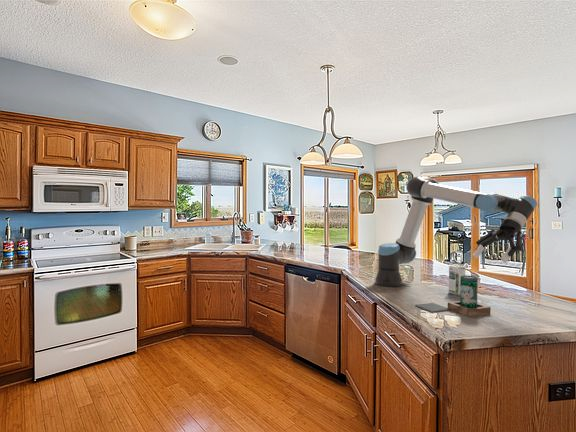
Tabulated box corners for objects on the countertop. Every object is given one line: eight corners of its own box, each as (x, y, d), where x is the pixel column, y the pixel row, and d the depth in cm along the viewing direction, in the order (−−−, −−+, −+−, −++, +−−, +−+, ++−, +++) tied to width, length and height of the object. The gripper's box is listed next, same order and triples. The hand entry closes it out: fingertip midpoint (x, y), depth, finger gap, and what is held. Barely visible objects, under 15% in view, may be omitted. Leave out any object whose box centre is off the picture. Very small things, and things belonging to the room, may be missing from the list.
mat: (415, 306, 148) (415, 304, 148) (432, 304, 151) (432, 302, 151) (432, 312, 138) (432, 311, 138) (450, 310, 142) (450, 308, 142)
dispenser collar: (447, 309, 144) (447, 302, 143) (467, 306, 147) (467, 299, 147) (470, 317, 133) (470, 309, 133) (490, 314, 137) (490, 307, 137)
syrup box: (447, 292, 172) (448, 265, 172) (456, 291, 174) (456, 264, 174) (456, 295, 167) (457, 267, 167) (465, 294, 169) (466, 266, 169)
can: (458, 311, 140) (458, 276, 140) (463, 308, 144) (463, 274, 144) (474, 314, 136) (474, 279, 135) (478, 311, 140) (479, 276, 140)
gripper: (546, 231, 137) (521, 269, 132) (491, 228, 161) (468, 260, 156) (537, 218, 135) (512, 256, 130) (483, 217, 159) (460, 250, 154)
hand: (488, 259), depth 143 cm, fingers open, 13 cm apart
